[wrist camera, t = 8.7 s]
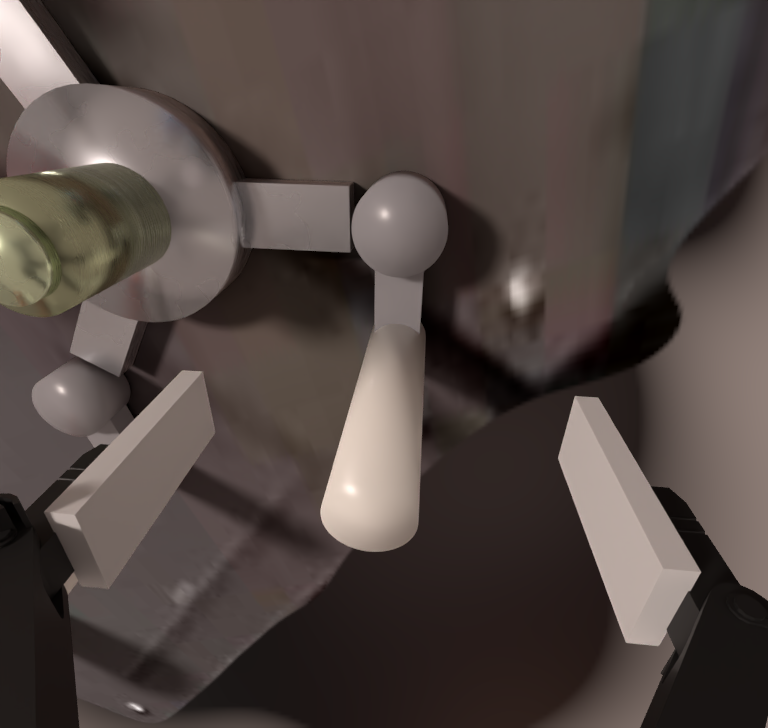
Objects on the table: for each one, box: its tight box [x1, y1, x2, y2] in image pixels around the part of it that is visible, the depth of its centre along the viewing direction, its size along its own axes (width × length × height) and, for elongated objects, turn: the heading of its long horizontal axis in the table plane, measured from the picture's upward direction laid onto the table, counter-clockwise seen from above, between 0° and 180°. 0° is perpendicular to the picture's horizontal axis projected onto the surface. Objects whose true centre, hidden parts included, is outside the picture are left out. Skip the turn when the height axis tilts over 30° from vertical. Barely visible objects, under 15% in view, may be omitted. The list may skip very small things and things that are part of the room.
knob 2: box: [321, 171, 448, 552], centre depth 15 cm, size 9×4×11 cm, turn 179°
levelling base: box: [0, 0, 354, 377], centre depth 15 cm, size 17×14×8 cm
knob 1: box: [32, 356, 134, 594], centre depth 21 cm, size 9×4×11 cm, turn 12°
